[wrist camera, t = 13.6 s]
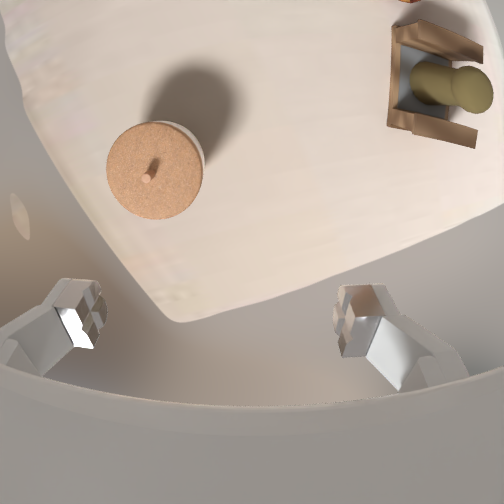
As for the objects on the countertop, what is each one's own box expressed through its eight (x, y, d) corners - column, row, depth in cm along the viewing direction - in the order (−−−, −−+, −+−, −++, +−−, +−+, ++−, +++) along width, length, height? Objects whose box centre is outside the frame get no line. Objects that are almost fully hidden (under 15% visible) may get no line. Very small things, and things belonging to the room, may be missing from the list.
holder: (390, 25, 26) (420, 16, 19) (448, 45, 26) (483, 44, 19) (385, 125, 33) (414, 137, 26) (441, 136, 33) (474, 151, 26)
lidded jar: (121, 177, 37) (89, 204, 29) (147, 102, 32) (116, 110, 24) (192, 207, 39) (177, 242, 31) (225, 134, 34) (217, 150, 26)
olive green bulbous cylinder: (453, 89, 28) (507, 101, 19) (427, 114, 30) (480, 131, 21) (428, 53, 26) (482, 52, 16) (400, 77, 28) (452, 81, 19)
